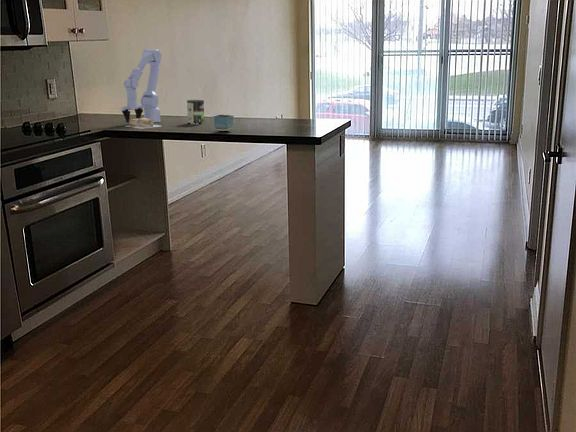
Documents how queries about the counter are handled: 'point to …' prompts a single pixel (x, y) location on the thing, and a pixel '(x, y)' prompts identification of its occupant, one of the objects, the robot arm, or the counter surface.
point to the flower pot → (223, 121)
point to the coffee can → (195, 111)
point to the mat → (144, 127)
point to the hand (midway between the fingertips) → (133, 121)
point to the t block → (141, 122)
